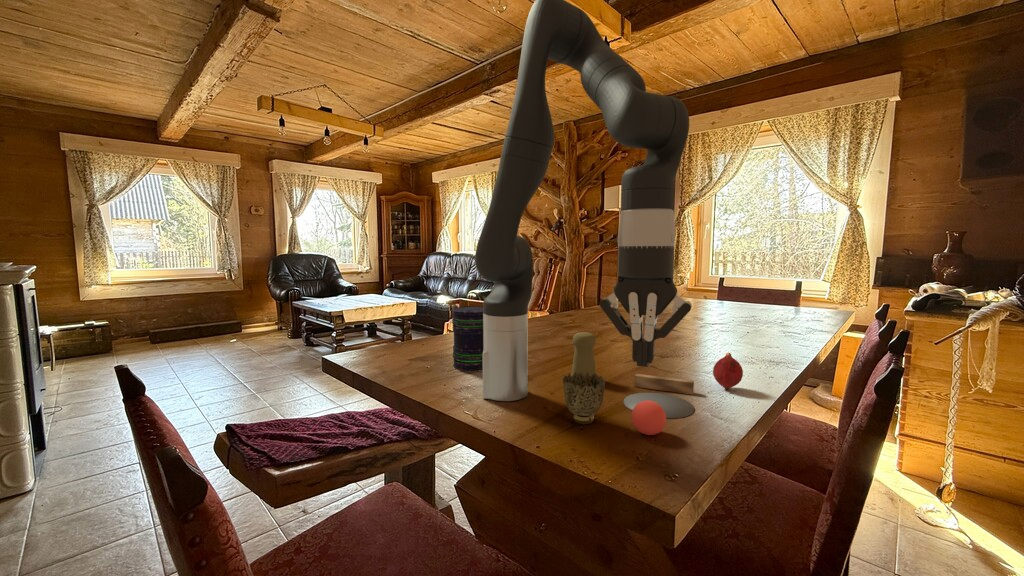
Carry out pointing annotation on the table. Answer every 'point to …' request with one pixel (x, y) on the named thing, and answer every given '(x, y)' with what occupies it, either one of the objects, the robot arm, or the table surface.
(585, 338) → the pestle
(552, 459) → the table surface
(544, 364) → the table surface
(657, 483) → the table surface
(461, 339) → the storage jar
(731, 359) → the onion
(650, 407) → the ball
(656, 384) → the stopper rail
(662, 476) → the table surface
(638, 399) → the gray disc
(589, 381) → the cup
